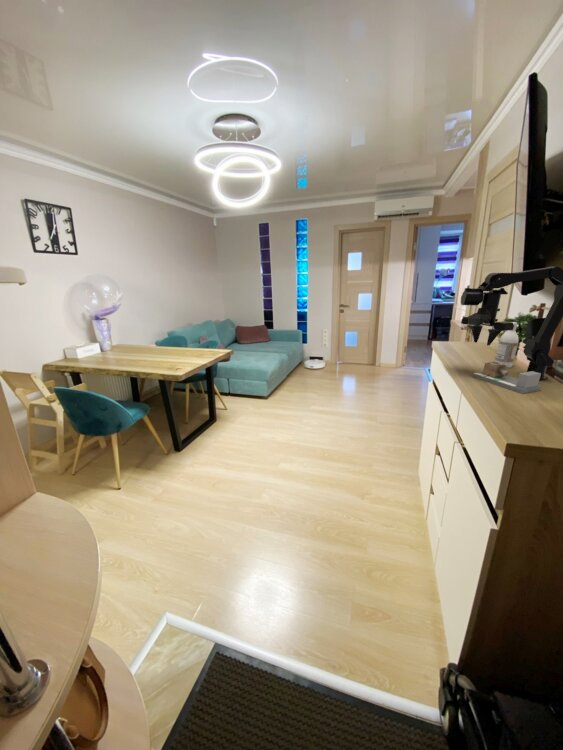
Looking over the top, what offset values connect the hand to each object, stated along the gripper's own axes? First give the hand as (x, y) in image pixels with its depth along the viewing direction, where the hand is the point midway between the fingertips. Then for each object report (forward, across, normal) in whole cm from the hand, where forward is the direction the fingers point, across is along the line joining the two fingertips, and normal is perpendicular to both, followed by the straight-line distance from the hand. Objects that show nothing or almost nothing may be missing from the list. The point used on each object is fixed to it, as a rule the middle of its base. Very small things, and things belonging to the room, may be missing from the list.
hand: (481, 343), depth 128 cm
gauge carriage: (+11, +9, -1) cm, 14 cm away
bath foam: (+13, -4, +22) cm, 26 cm away
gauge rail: (+13, +12, 0) cm, 18 cm away
